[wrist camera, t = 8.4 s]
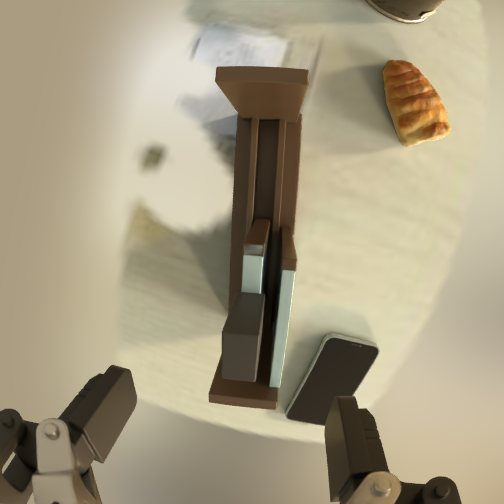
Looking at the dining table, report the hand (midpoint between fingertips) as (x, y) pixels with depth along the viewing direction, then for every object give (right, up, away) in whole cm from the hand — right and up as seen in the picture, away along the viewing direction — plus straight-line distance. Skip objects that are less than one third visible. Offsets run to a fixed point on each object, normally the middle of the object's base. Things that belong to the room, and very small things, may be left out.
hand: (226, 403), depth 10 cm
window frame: (+2, +9, +19) cm, 21 cm away
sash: (+2, +4, +18) cm, 19 cm away
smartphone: (+11, -11, +24) cm, 28 cm away
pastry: (+18, +21, +14) cm, 31 cm away
